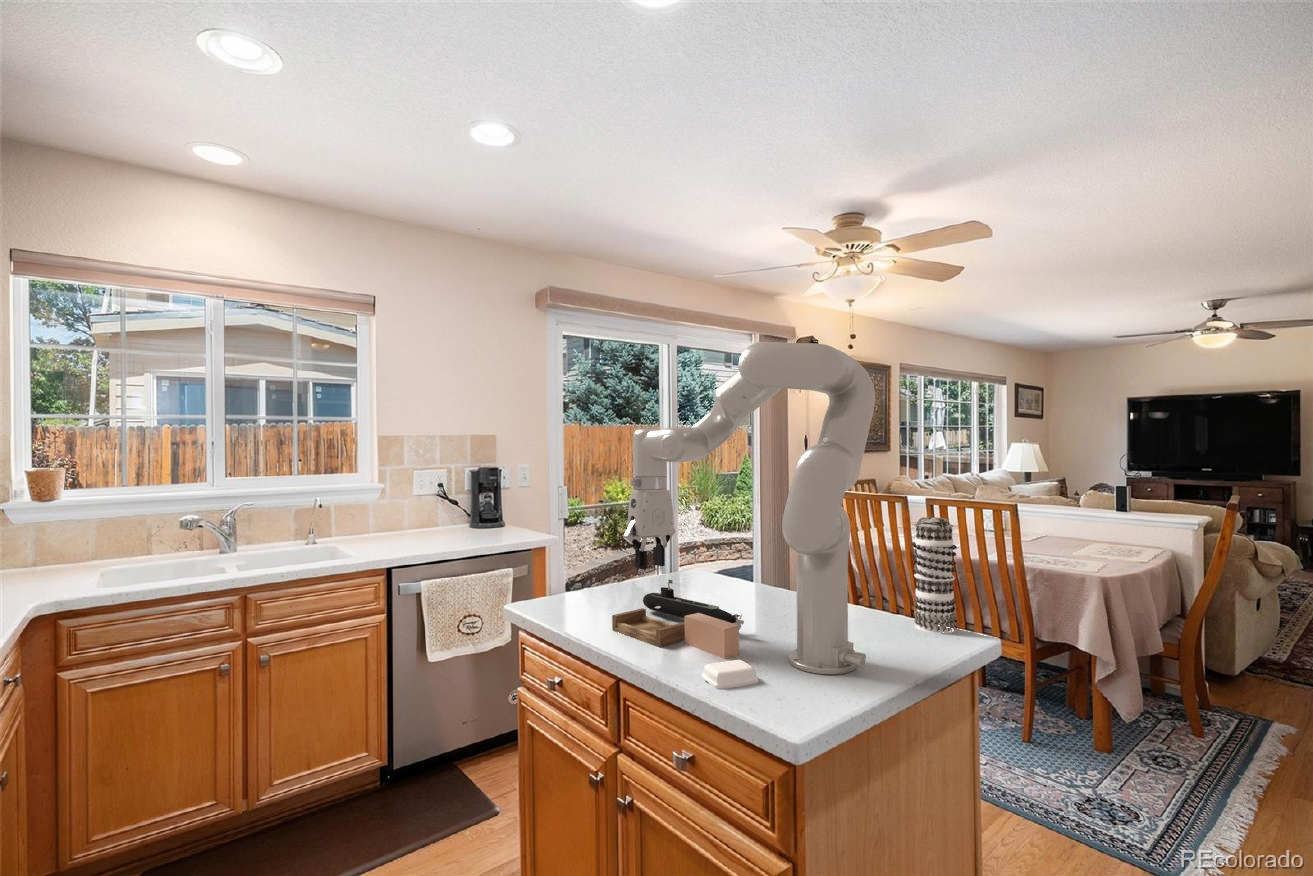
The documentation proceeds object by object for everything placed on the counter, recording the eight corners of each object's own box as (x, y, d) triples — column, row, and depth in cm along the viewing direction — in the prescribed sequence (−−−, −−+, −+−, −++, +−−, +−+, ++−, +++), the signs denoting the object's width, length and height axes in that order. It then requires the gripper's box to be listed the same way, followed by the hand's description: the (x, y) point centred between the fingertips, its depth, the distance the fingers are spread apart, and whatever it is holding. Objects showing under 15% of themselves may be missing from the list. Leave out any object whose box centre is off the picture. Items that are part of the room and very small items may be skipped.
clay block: (738, 655, 127) (738, 625, 127) (724, 659, 124) (724, 629, 124) (698, 640, 136) (698, 612, 136) (684, 644, 134) (684, 616, 134)
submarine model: (752, 634, 139) (748, 589, 138) (732, 643, 134) (728, 596, 134) (655, 610, 162) (652, 571, 161) (635, 617, 157) (632, 577, 157)
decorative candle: (949, 638, 136) (948, 521, 137) (906, 630, 143) (905, 518, 143) (963, 629, 143) (962, 518, 143) (921, 621, 149) (920, 515, 150)
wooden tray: (690, 638, 137) (690, 622, 137) (660, 647, 131) (660, 630, 131) (642, 623, 149) (642, 608, 149) (612, 630, 143) (612, 615, 143)
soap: (742, 671, 118) (742, 656, 118) (761, 684, 112) (761, 668, 112) (698, 678, 115) (698, 662, 115) (715, 692, 108) (715, 675, 109)
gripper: (631, 487, 132) (631, 575, 132) (689, 483, 143) (689, 564, 143) (609, 485, 138) (609, 569, 137) (666, 482, 149) (666, 560, 149)
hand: (650, 566), depth 140 cm, fingers open, 4 cm apart
